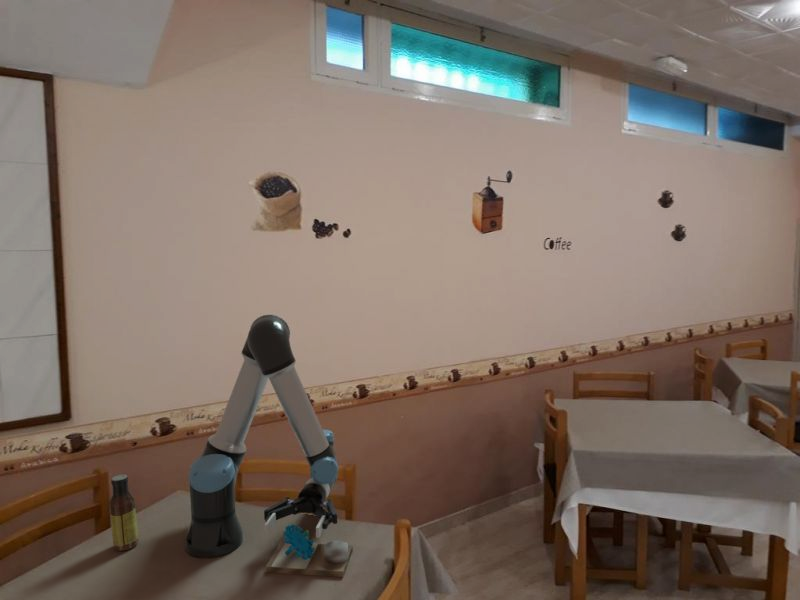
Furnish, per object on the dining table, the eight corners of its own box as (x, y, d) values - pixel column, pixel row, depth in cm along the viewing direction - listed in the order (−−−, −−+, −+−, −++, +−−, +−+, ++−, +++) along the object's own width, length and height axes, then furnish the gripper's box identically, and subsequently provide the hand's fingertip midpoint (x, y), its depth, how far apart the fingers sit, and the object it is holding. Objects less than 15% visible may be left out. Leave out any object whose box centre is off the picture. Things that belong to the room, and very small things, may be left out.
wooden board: (265, 572, 141) (265, 555, 141) (280, 546, 153) (280, 531, 153) (343, 577, 139) (342, 559, 139) (352, 551, 151) (352, 535, 150)
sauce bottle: (139, 538, 158) (136, 470, 156) (136, 550, 152) (132, 479, 150) (114, 542, 156) (110, 473, 154) (110, 554, 150) (105, 482, 148)
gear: (305, 562, 139) (281, 530, 141) (289, 577, 140) (265, 545, 142) (323, 545, 150) (299, 516, 152) (308, 559, 151) (285, 529, 153)
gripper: (355, 509, 163) (339, 548, 142) (273, 504, 166) (245, 542, 145) (355, 484, 162) (339, 519, 141) (272, 480, 165) (244, 514, 144)
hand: (291, 531), depth 143 cm, fingers open, 13 cm apart
